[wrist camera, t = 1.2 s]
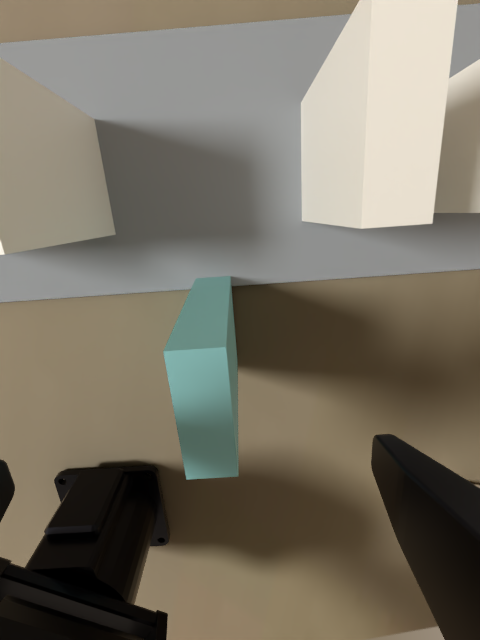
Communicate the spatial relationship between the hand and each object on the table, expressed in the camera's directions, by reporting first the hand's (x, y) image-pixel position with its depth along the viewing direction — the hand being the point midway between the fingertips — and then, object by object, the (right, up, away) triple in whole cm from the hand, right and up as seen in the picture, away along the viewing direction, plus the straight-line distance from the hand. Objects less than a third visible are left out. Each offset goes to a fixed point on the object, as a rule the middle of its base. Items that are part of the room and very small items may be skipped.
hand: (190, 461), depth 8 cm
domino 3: (+5, +11, +7) cm, 14 cm away
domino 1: (-6, +10, +7) cm, 14 cm away
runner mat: (-2, +10, +7) cm, 13 cm away
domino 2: (0, +3, +10) cm, 10 cm away
